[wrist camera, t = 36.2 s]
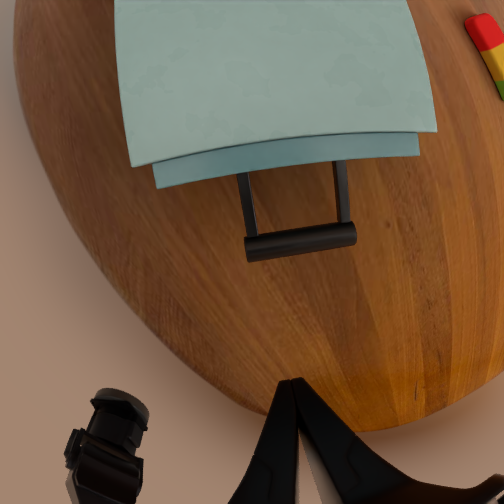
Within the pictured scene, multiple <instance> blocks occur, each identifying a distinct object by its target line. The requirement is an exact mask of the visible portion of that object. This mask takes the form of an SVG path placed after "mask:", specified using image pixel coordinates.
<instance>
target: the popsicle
mask: <svg viewBox="0 0 504 504" xmlns="http://www.w3.org/2000/svg"><path fill="white" fill-rule="evenodd" d="M465 27H466V30H467V31H468V33H469V35H470V37H471V38H472V40H473V42H474V43H475V45H476V47H477V48H478V50H479V52H480V54H481V56H482V57H483V59H484V61H485V63H486V65H487V67H488V69H489V71H490V73H491V75H492V77H493V79H494V82H495V84H496V86H497V88H498V90H499V93H500V95H501V98H502V100H503V101H504V34H503V33H502V31H501V29H500V28H499V26H498V24H497V23H496V21H495V20H494V18H493V17H492V16H491V15H489V14H487V13H482V14H479V15H476V16H473V17H470V18H468V19H467V20H466V21H465Z"/></svg>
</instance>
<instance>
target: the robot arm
mask: <svg viewBox="0 0 504 504" xmlns="http://www.w3.org/2000/svg"><path fill="white" fill-rule="evenodd" d="M90 403H91V404H92V406H93V407H94V408H95V411H94V413H93V415H92V418H91V420H90V422H89V425H88V427H87V430H86V431H85V429H83V428H81V429H80V430H77V429H73V431H72V433H71V436H70V438H69V441H68V443H67V446H66V449H65V451H64V456H65V458H66V461H65V462H66V465H65V467H66V468H68V469H69V470H70V471H69V474H68V477H67V480H66V487H67V490H68V493H69V496H70V498H71V501H72V504H135V503H136V497H137V496H138V495H139V493H140V491H141V487H142V483H143V460H144V459H142V458H138V457H136V456H135V451H136V448H139V447H140V444H141V440H142V436H143V432H144V431H147V430H148V427H147V426H146V424H145V423H144V422H143V420H142V419H141V417H140V416H139V415H138V413H137V412H136V410H135V409H134V407H133V406H132V404H131V403H130V402H128V401H121V400H105V399H93V398H92V399H91V400H90ZM298 430H299V433H298ZM299 434H300V437H301V440H302V444H303V447H304V450H305V453H306V456H307V459H308V462H309V465H310V468H311V471H312V474H313V477H314V480H315V483H316V486H317V489H318V492H319V495H320V498H321V501H322V504H504V494H503V495H502V496H501V497H500V498H498V499H497V500H496V498H495V496H497V495H498V494H499V493H500V492H502V491H503V490H504V475H500V474H494V475H493V476H491V477H489V478H488V479H487V480H485V481H484V482H482V483H481V484H479V485H478V486H476V487H473V488H468V489H460V488H452V487H446V486H440V485H434V484H429V483H424V482H420V481H417V480H415V479H412V478H411V477H409V476H407V475H406V474H404V473H403V472H401V471H400V470H398V469H397V468H395V467H394V466H393V465H391V464H390V463H388V462H387V461H385V460H384V459H383V458H381V457H380V456H379V455H378V454H376V453H375V452H374V451H372V450H371V449H370V448H369V447H368V446H367V445H366V444H365V443H364V442H363V441H362V440H361V439H360V438H359V437H358V436H355V435H356V434H355V433H354V432H353V431H352V430H351V429H350V428H349V427H348V426H347V425H346V424H345V423H344V422H343V421H342V420H341V418H340V417H339V416H338V415H337V414H336V413H335V412H334V411H333V410H332V409H331V408H330V407H329V406H328V405H327V404H326V402H325V401H324V400H323V399H322V398H321V397H320V396H319V395H318V394H317V393H316V392H315V391H314V389H313V388H312V387H311V386H310V385H309V384H308V383H307V382H306V381H305V380H304V378H302V377H299V378H293V379H291V380H289V379H288V380H282V381H279V383H278V386H277V389H276V392H275V395H274V398H273V401H272V404H271V407H270V410H269V413H268V415H267V418H266V421H265V424H264V427H263V430H262V432H261V435H260V438H259V441H258V444H257V446H256V449H255V451H254V455H253V456H252V459H251V461H250V464H249V466H248V469H247V471H246V473H245V476H244V477H243V479H242V481H241V483H240V484H239V486H238V488H237V489H236V491H235V493H234V494H233V496H232V498H231V499H230V501H229V502H228V504H299ZM80 445H81V446H82V447H81V446H80Z"/></svg>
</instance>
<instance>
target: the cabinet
mask: <svg viewBox="0 0 504 504" xmlns="http://www.w3.org/2000/svg"><path fill="white" fill-rule="evenodd" d="M114 18H115V44H116V60H117V72H118V82H119V91H120V99H121V107H122V114H123V121H124V128H125V134H126V140H127V146H128V152H129V157H130V162H131V166H132V167H133V168H134V167H139V166H144V165H149V164H152V163H155V162H159V161H163V160H167V159H171V158H176V157H180V156H184V155H189V154H194V153H199V152H203V151H208V150H214V149H219V148H225V147H230V146H236V145H242V144H249V143H255V142H262V141H269V140H277V139H286V138H294V137H304V136H315V135H328V134H343V133H366V132H417V133H436V132H437V125H436V117H435V110H434V103H433V97H432V92H431V86H430V81H429V76H428V72H427V67H426V63H425V59H424V55H423V51H422V48H421V44H420V41H419V37H418V34H417V31H416V28H415V24H414V21H413V19H412V16H411V13H410V10H409V7H408V5H407V2H406V0H114Z"/></svg>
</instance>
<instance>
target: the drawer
mask: <svg viewBox="0 0 504 504" xmlns="http://www.w3.org/2000/svg"><path fill="white" fill-rule="evenodd" d="M419 155H420V151H419V140H418V133H417V132H366V133H343V134H328V135H315V136H304V137H294V138H286V139H277V140H269V141H262V142H255V143H249V144H242V145H236V146H230V147H225V148H219V149H214V150H208V151H203V152H199V153H194V154H189V155H184V156H180V157H176V158H171V159H167V160H163V161H159V162H155V163H152V168H153V173H154V178H155V183H156V188H157V189H162V188H166V187H171V186H175V185H180V184H185V183H189V182H194V181H199V180H205V179H210V178H215V177H221V176H226V175H232V174H237V180H238V186H239V192H240V198H241V204H242V210H243V215H244V221H245V227H246V233H247V236H245V237H244V245H245V252H246V257H247V261H248V262H249V263H250V262H256V261H262V260H268V259H274V258H280V257H287V256H293V255H299V254H305V253H311V252H317V251H323V250H329V249H334V248H340V247H346V246H352V245H355V244H356V241H357V232H356V228H355V225H354V223H353V222H352V221H351V220H350V206H349V192H348V181H347V170H346V161H345V160H350V159H363V158H379V157H400V156H419ZM328 161H332V167H333V176H334V186H335V196H336V208H337V220H338V222H335V223H328V224H321V225H315V226H308V227H302V228H295V229H289V230H282V231H276V232H270V233H264V234H258V227H257V221H256V215H255V209H254V202H253V196H252V190H251V184H250V178H249V172H250V171H256V170H263V169H270V168H277V167H284V166H292V165H300V164H309V163H318V162H328Z"/></svg>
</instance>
